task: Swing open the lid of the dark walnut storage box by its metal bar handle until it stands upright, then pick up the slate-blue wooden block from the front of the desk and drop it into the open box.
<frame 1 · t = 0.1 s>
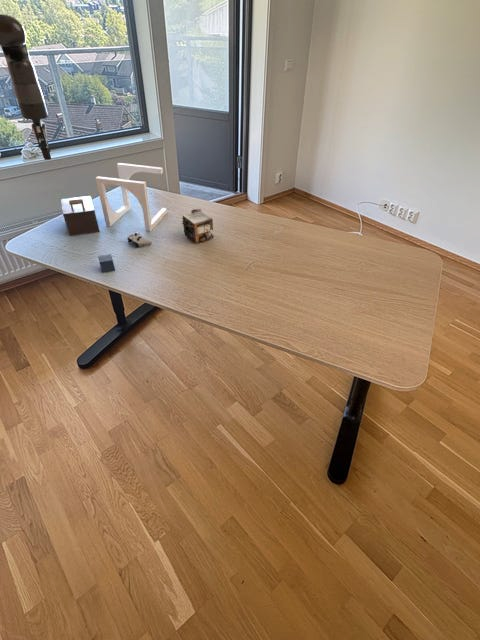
hand: (47, 155, 118), 31 cm above the table, tool pointing down, fingers open, 8 cm apart
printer: (200, 239, 143), on the table
block: (107, 268, 123), on the table
game controller: (139, 243, 138), on the table
lid: (76, 200, 139), point 11 cm above the table, hinge at 0.0°
white arched cube frame: (137, 219, 154), on the table
storage box: (83, 226, 147), on the table
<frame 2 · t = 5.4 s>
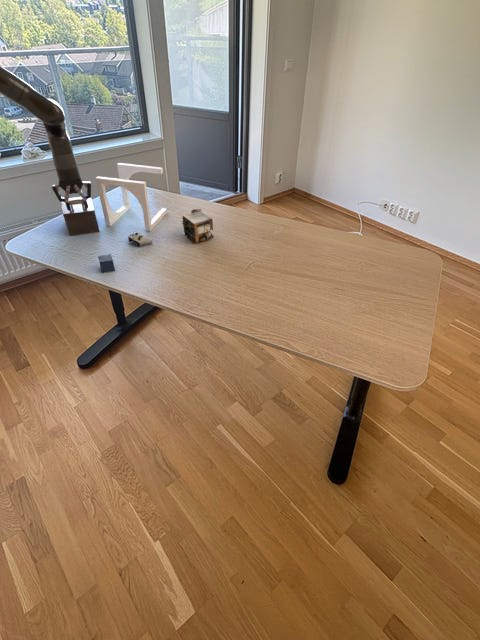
hand: (78, 209, 136), 10 cm above the table, tool pointing down, fingers closed on lid, 5 cm apart
lid: (76, 200, 139), point 11 cm above the table, hinge at -0.2°, touching gripper, storage box
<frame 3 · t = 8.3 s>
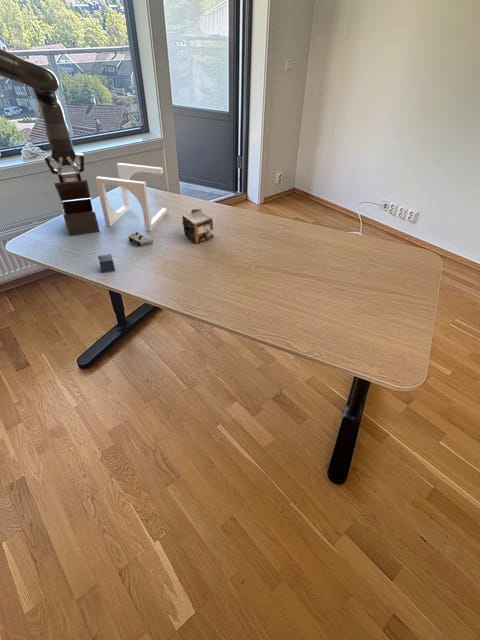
hand: (71, 183, 135), 18 cm above the table, tool pointing down, fingers closed on lid, 5 cm apart
lid: (72, 185, 138), point 16 cm above the table, hinge at 42.8°, touching gripper
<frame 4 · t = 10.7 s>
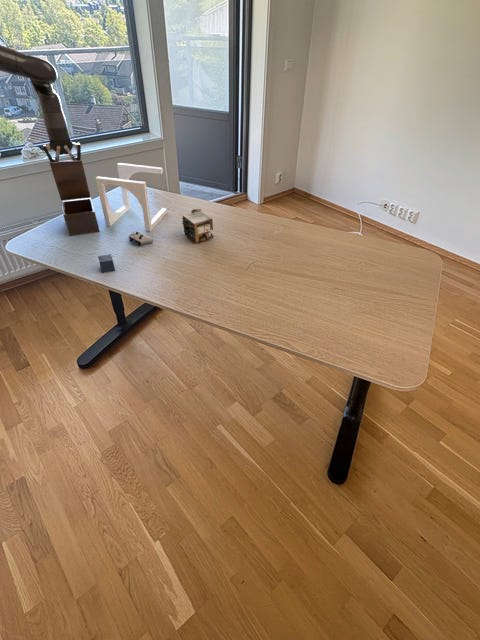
hand: (68, 171, 141), 19 cm above the table, tool pointing down, fingers closed on lid, 5 cm apart
lid: (70, 178, 141), point 17 cm above the table, hinge at 82.5°, touching gripper
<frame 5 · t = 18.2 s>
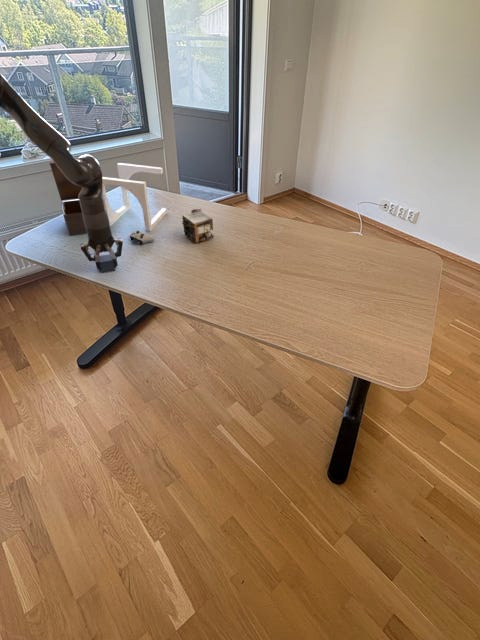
hand: (107, 268, 123), 0 cm above the table, tool pointing down, fingers closed on block, 4 cm apart
block: (107, 268, 123), on the table, touching gripper
lid: (70, 178, 141), point 17 cm above the table, hinge at 82.8°
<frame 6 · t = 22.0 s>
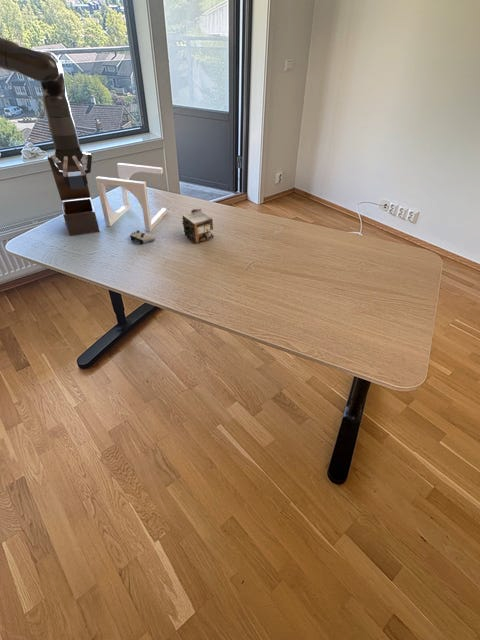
hand: (77, 185, 120), 23 cm above the table, tool pointing down, fingers closed on block, 4 cm apart
block: (77, 186, 120), point 23 cm above the table, touching gripper
when the fingers open (15 cm above the table, at t = 25.8 s): block drops 14 cm, resting on storage box.
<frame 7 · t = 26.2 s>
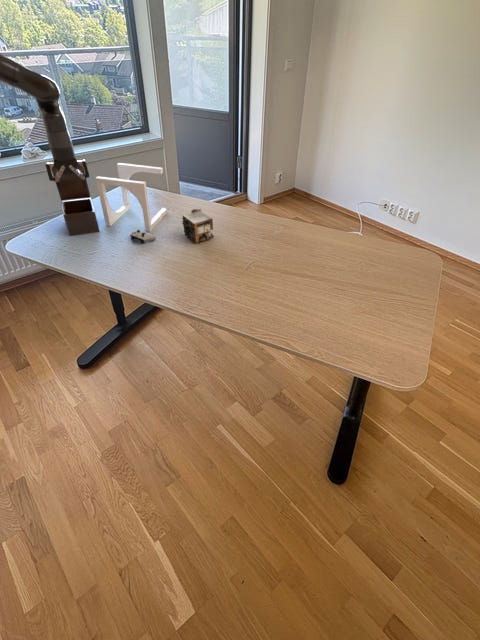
hand: (73, 189, 134), 17 cm above the table, tool pointing down, fingers open, 8 cm apart
block: (83, 227, 144), point 1 cm above the table, touching storage box
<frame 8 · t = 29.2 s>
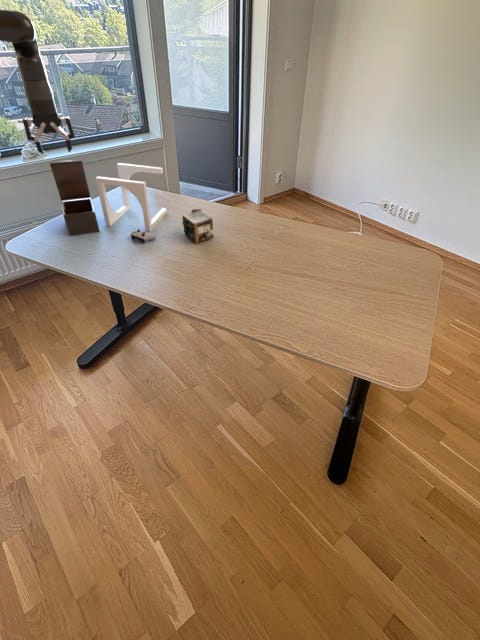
hand: (56, 152, 118), 32 cm above the table, tool pointing down, fingers open, 8 cm apart
at the end: lid at +83° (first picture: +0°); block inside the target area in the storage box (3.0 cm from its centre), point 0.8 cm above the storage box's base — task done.
